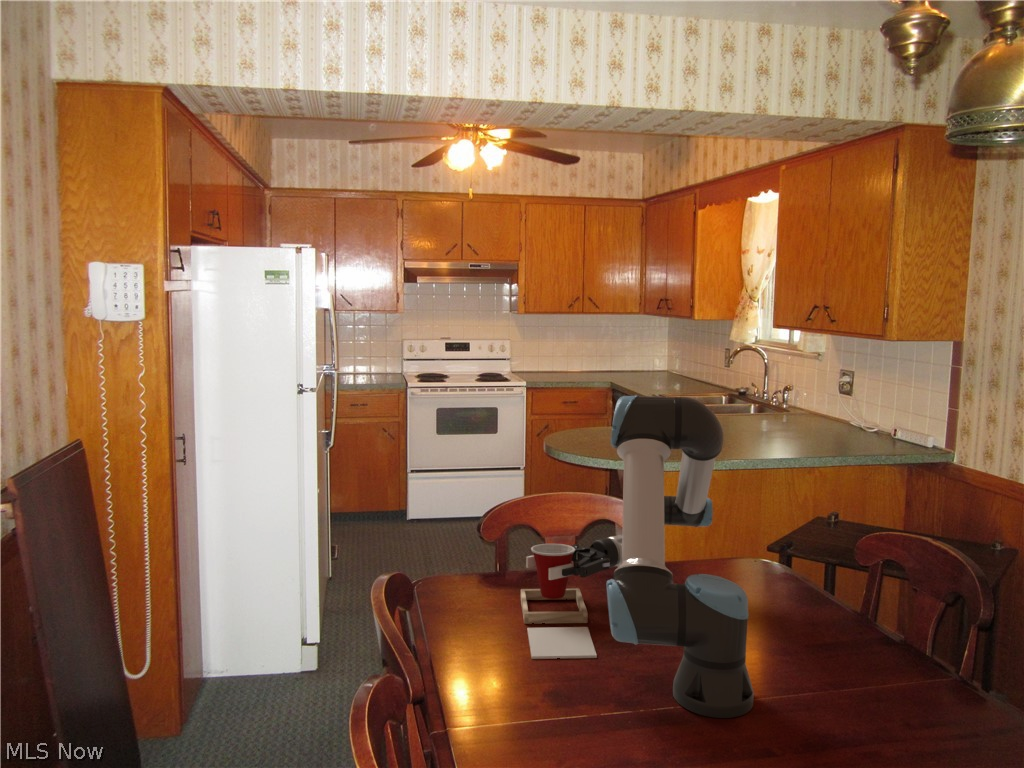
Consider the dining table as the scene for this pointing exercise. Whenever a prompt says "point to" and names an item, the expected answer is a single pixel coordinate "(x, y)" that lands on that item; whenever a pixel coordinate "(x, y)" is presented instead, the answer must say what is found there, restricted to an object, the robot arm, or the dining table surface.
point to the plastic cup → (547, 559)
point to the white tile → (560, 643)
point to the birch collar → (555, 616)
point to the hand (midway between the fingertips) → (538, 568)
